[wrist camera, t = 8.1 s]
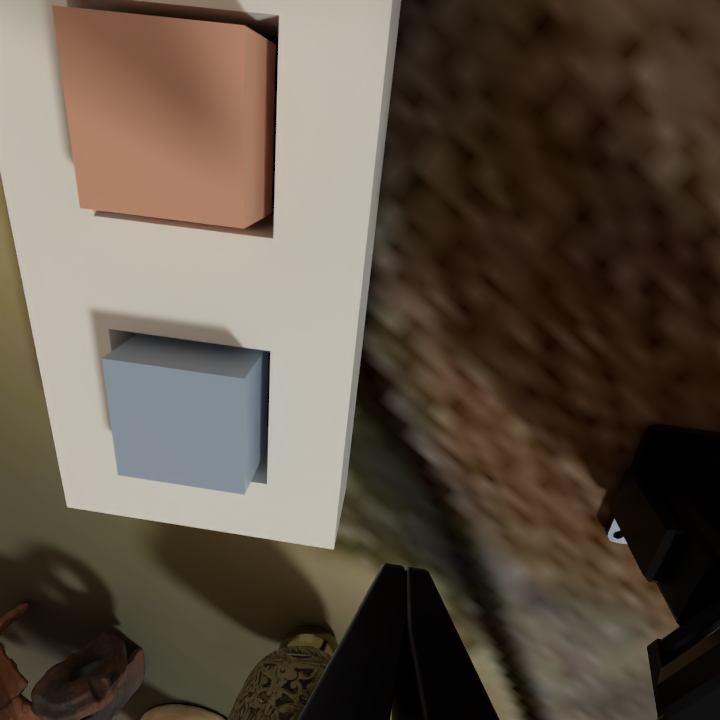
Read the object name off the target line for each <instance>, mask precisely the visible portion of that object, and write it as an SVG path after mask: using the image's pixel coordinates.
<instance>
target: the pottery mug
mask: <svg viewBox="0 0 720 720" xmlns="http://www.w3.org/2000/svg"><path fill="white" fill-rule="evenodd" d="M28 608H29V604H28V603H24V604H20V605H18V606H17V607H16V608H15V609H13V610H11V611H9V612H7V613H6V614H5V616H3V617H2V618H0V635H1V634H2V632H3V631H4V630H5V629H6V628H7V627H8V626H9V625H10V624H11V623H12V622H13V621H15V620H16V619H17V618H19V617H20V616H22V615H23V614H24V613H26V612H27V610H28ZM144 675H145V664H144V655H143V651H142V649H141V648H137V649H135V650H134V652H133V653H132V655H131V656H130V657H129V659H128V660H127V658H126V647H125V643H124V641H123V640H122V639H120V638H119V637H117V636H116V635H114V634H112V633H110V632H108V631H103V632H102V633H101V635H100V636H99V637H97V638H95V639H93V640H92V641H91V642H90V643H89V644H88V645H87V646H86V647H84V648H83V649H82V650H81V651H79V652H78V653H75V654H72V655H71V656H69V657H68V658H66V659H65V660H64V661H62V662H61V663H58V664H56V665H54V666H53V667H51V668H50V669H49V670H48V671H47V672H46V673H45V675H44V676H43V677H42V678H41V679H40V680H39V681H38V682H37V683H36V685H35V686H34V688H33V690H32V693H31V698H32V702H31V701H29V700H28V699H27V698H25V697H24V696H23V695H22V694H21V693H22V692H23V691H24V689H25V688H26V687H27V685H28V681H27V680H26V679H25V678H24V676H23V675H22V674H20V672H19V670H18V668H17V665H16V663H15V662H14V661H13V660H12V659H10V658H8V657H7V655H6V653H5V649H4V646H3V645H2V644H1V643H0V720H79V719H80V720H112V718H113V717H115V716H116V715H118V713H119V712H120V710H121V708H122V707H123V706H124V705H125V704H126V702H127V701H128V700H129V698H130V697H131V696H132V694H133V693H134V692H135V691H136V690H137V689H138V688H139V687H140V685H141V684H142V682H143V678H144Z"/></svg>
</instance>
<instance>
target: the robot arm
mask: <svg viewBox="0 0 720 720" xmlns="http://www.w3.org/2000/svg"><path fill="white" fill-rule="evenodd" d="M659 434H663V435H662V436H661V437H660V438H658V439H654V438H655V437H656V436H657V435H659ZM610 511H611V515H610V517H609V519H608V522H607V524H606V526H605V532H606V534H607V536H608V538H609V540H611V541H612V542H615V543H622V544H628V546H629V548H630V550H631V552H632V554H633V556H634V558H635V560H636V562H637V564H638V566H639V568H640V570H641V572H642V574H643V576H644V577H645V578H646V579H647V581H648V582H653V583H656V584H657V586H658V588H659V589H660V591H661V593H662V595H663V597H664V599H665V601H666V603H667V605H668V607H669V608H670V610H671V612H672V614H673V616H674V618H675V620H676V622H677V623H678V625H679V627H678V628H677V629H675V630H674V631H673V632H671V633H670V634H668V635H667V636H666V637H664V638H663V639H662V640H661V639H656V640H655V641H654V642H652V643H651V644H650V645H648V646H647V651H648V657H649V664H650V670H651V677H652V683H653V689H654V696H655V702H656V709H657V715H658V719H657V720H720V433H718V432H710V431H703V430H696V429H689V428H682V427H675V426H668V425H653V426H651V427H649V428H648V429H647V430H646V432H645V433H644V436H643V438H642V440H641V443H640V445H639V448H638V450H637V452H636V455H635V457H634V460H633V462H632V464H631V466H630V467H629V468H627V470H626V472H625V475H624V477H623V479H622V482H621V484H620V487H619V489H618V491H617V494H616V496H615V499H614V501H613V503H612V506H611V508H610ZM616 531H619V532H617V533H614V532H616ZM391 709H392V720H499V718H498V716H497V713H496V711H495V709H494V707H493V705H492V703H491V701H490V699H489V697H488V695H487V693H486V690H485V688H484V686H483V684H482V682H481V680H480V678H479V676H478V674H477V672H476V670H475V668H474V665H473V663H472V661H471V659H470V657H469V655H468V653H467V651H466V649H465V647H464V645H463V642H462V640H461V638H460V636H459V634H458V632H457V630H456V628H455V626H454V624H453V622H452V620H451V617H450V615H449V613H448V611H447V609H446V607H445V605H444V603H443V601H442V599H441V597H440V594H439V592H438V590H437V588H436V586H435V584H434V582H433V580H432V578H431V576H430V574H429V572H428V571H427V570H425V569H420V568H414V567H407V568H406V569H404V567H403V566H401V565H395V564H388V563H385V564H383V565H382V566H381V568H380V570H379V572H378V573H377V575H376V577H375V579H374V581H373V583H372V584H371V586H370V588H369V590H368V592H367V594H366V595H365V597H364V599H363V601H362V603H361V604H360V606H359V608H358V610H357V612H356V614H355V615H354V617H353V619H352V621H351V623H350V625H349V626H348V628H347V630H346V632H345V634H344V636H343V637H342V639H341V641H340V643H339V645H338V647H337V648H336V650H335V652H334V654H333V656H332V658H331V659H330V661H329V663H328V665H327V667H326V669H325V670H324V672H323V674H322V676H321V678H320V680H319V681H318V683H317V685H316V687H315V689H314V690H313V692H312V694H311V696H310V698H309V700H308V701H307V703H306V705H305V707H304V709H303V711H302V712H301V714H300V716H299V718H298V720H390V715H391Z"/></svg>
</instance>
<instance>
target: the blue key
mask: <svg viewBox="0 0 720 720" xmlns="http://www.w3.org/2000/svg"><path fill="white" fill-rule="evenodd" d="M102 363H103V370H104V378H105V385H106V392H107V399H108V407H109V414H110V421H111V429H112V436H113V443H114V450H115V458H116V465H117V472H118V475H120V476H127V477H133V478H140V479H146V480H153V481H159V482H165V483H172V484H178V485H185V486H191V487H198V488H204V489H211V490H217V491H224V492H230V493H237V494H243V495H245V493H246V491H247V489H248V487H249V484H250V482H251V480H252V478H253V476H254V474H255V472H256V470H257V468H258V466H259V463H260V461H261V459H262V457H263V455H264V453H265V451H266V448H267V406H268V365H269V351H265V350H257V349H250V348H243V347H236V346H229V345H221V344H214V343H207V342H200V341H193V340H185V339H178V338H171V337H164V336H156V335H149V334H142V333H137V334H135V335H134V336H133V337H131V338H130V339H128V340H127V341H126V342H124V343H123V344H121V345H120V346H119V347H117V348H116V349H114V350H113V351H112V352H110V353H109V354H107V355H106V356H105V357H103V358H102Z"/></svg>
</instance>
